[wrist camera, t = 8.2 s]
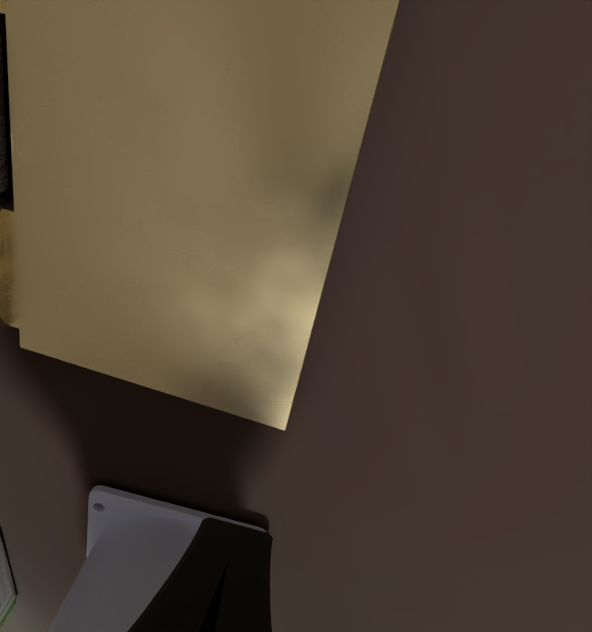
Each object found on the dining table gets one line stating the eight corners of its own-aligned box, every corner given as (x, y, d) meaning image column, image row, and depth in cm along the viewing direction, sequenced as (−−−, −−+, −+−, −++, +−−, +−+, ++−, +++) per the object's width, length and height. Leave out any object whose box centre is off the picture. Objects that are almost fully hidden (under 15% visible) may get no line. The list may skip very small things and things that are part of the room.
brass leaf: (-28, 315, 21) (-74, 344, 19) (-81, -256, 13) (-167, -303, 11) (290, 414, 20) (275, 455, 18) (439, -141, 12) (441, -172, 10)
